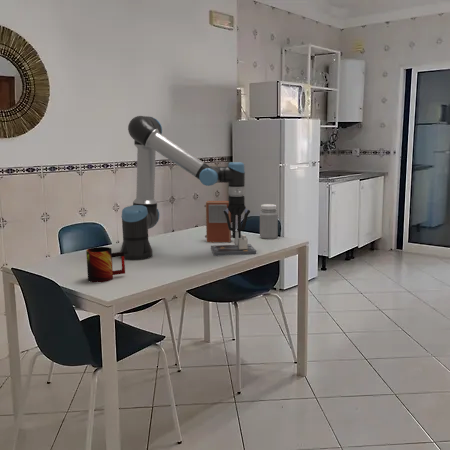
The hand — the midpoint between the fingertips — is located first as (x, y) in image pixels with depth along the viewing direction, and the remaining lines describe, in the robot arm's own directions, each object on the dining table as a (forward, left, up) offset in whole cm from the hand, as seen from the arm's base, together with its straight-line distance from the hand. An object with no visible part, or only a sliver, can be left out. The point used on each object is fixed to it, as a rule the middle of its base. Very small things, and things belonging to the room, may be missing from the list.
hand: (236, 244), depth 248 cm
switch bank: (-1, +4, -4) cm, 6 cm away
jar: (+23, +34, -4) cm, 41 cm away
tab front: (+3, 0, -2) cm, 4 cm away
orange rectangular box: (-5, +29, -4) cm, 30 cm away
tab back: (+4, +8, -2) cm, 9 cm away
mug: (-58, -35, -4) cm, 68 cm away
